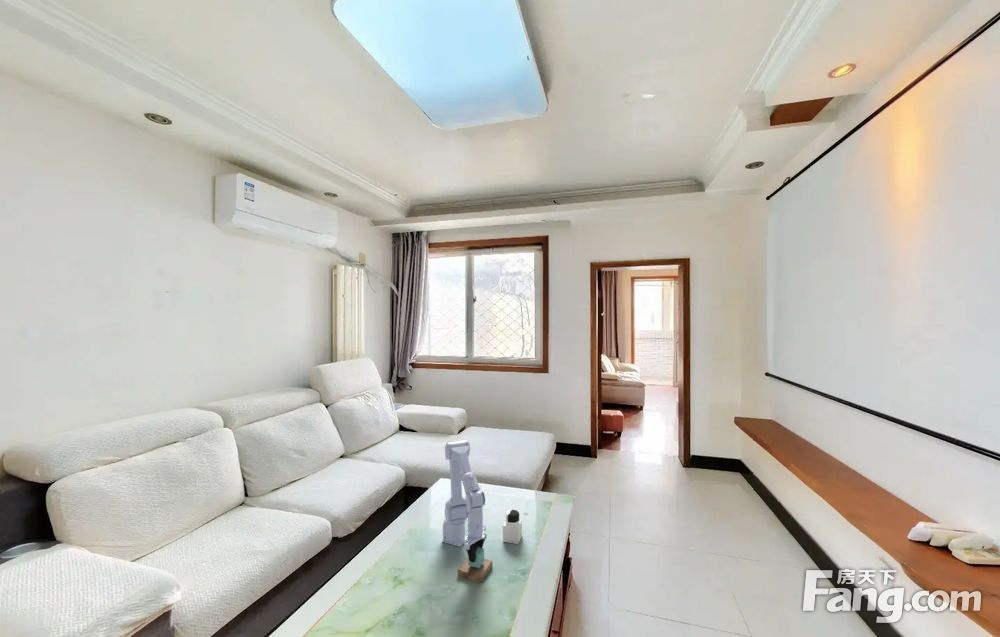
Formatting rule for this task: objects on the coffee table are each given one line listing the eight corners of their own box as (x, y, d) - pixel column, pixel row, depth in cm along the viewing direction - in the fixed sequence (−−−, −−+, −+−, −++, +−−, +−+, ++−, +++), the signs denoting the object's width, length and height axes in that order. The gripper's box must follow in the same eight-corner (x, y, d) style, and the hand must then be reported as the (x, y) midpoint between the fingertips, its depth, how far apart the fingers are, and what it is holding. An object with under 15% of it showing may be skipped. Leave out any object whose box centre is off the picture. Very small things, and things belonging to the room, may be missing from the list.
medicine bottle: (522, 535, 172) (522, 509, 172) (518, 544, 165) (518, 517, 165) (506, 533, 174) (506, 506, 174) (502, 542, 167) (502, 514, 167)
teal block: (468, 565, 147) (468, 552, 147) (473, 558, 151) (474, 545, 151) (478, 568, 145) (478, 555, 145) (484, 561, 149) (484, 548, 149)
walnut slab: (457, 577, 146) (457, 569, 146) (470, 561, 155) (470, 554, 155) (481, 584, 142) (481, 576, 142) (492, 568, 151) (492, 560, 151)
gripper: (475, 534, 140) (475, 571, 140) (492, 515, 153) (492, 549, 153) (459, 530, 143) (459, 566, 143) (476, 512, 156) (476, 545, 156)
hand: (475, 557), depth 148 cm, fingers closed on teal block, 4 cm apart
